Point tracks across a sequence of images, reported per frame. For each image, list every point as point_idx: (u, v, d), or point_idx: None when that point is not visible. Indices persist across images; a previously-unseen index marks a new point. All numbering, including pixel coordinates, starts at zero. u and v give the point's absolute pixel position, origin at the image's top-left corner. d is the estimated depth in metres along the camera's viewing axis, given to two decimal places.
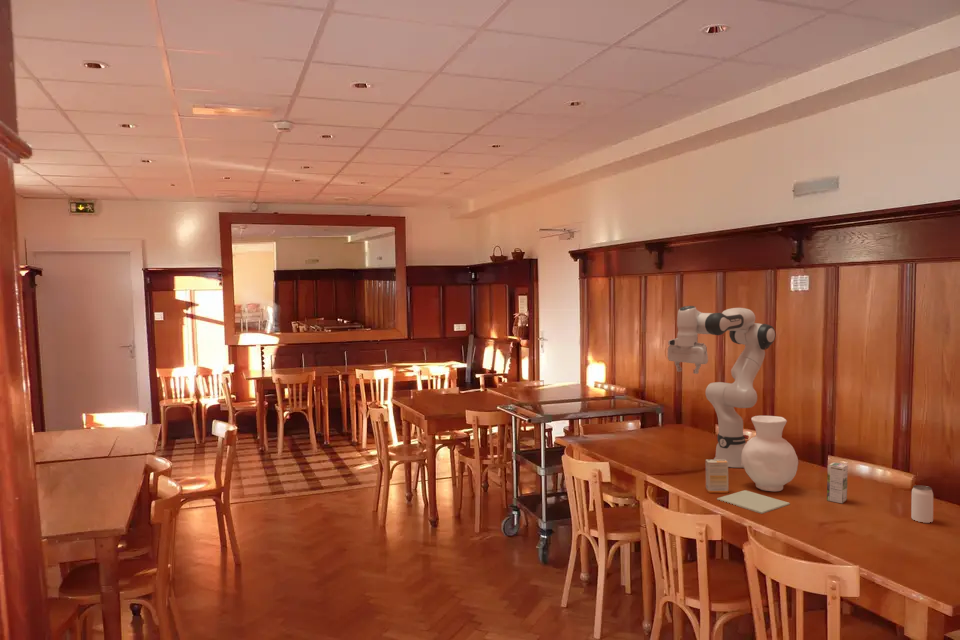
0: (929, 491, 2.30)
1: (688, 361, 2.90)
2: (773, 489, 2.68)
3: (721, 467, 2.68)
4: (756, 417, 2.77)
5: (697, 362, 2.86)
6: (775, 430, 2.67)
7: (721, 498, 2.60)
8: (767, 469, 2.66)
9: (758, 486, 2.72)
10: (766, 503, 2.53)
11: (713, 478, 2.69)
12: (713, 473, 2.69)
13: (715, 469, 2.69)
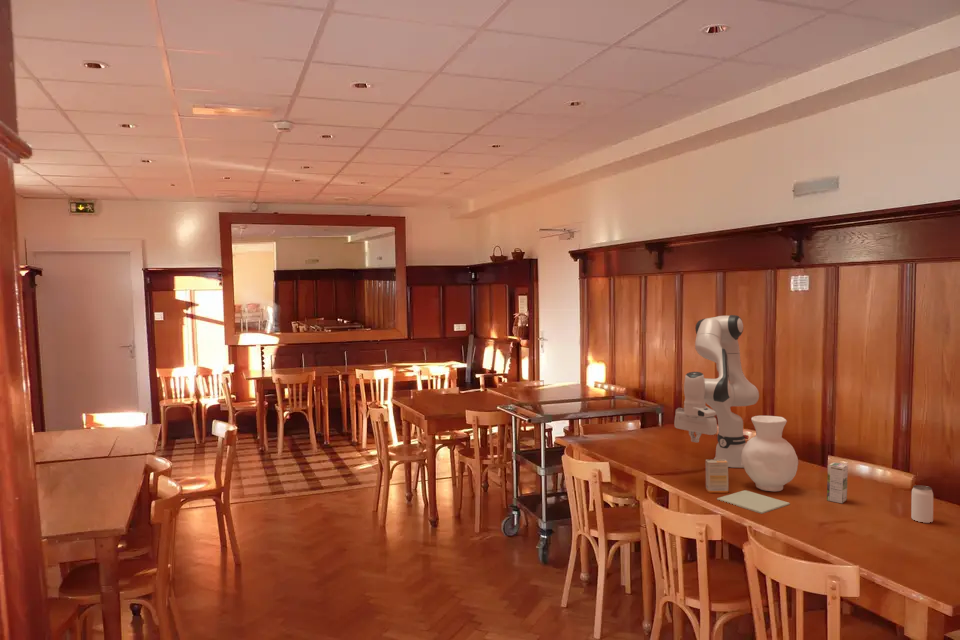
0: (929, 491, 2.30)
1: None
2: (773, 489, 2.68)
3: (721, 467, 2.68)
4: (756, 417, 2.77)
5: None
6: (775, 430, 2.67)
7: (721, 498, 2.60)
8: (767, 469, 2.66)
9: (758, 486, 2.72)
10: (766, 503, 2.53)
11: (713, 478, 2.69)
12: (713, 473, 2.69)
13: (715, 469, 2.69)
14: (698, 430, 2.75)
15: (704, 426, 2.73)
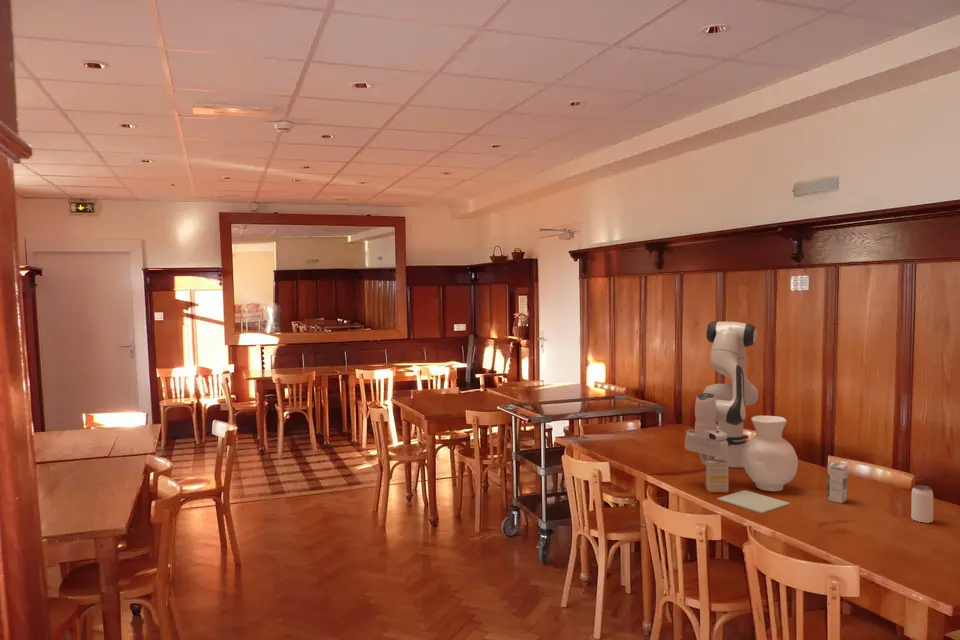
0: (929, 491, 2.30)
1: None
2: (773, 489, 2.68)
3: (721, 467, 2.68)
4: (756, 417, 2.77)
5: None
6: (775, 430, 2.67)
7: (721, 498, 2.60)
8: (767, 469, 2.66)
9: (758, 486, 2.72)
10: (766, 503, 2.53)
11: (713, 478, 2.69)
12: (713, 473, 2.68)
13: (715, 469, 2.68)
14: (709, 453, 2.71)
15: (715, 450, 2.69)
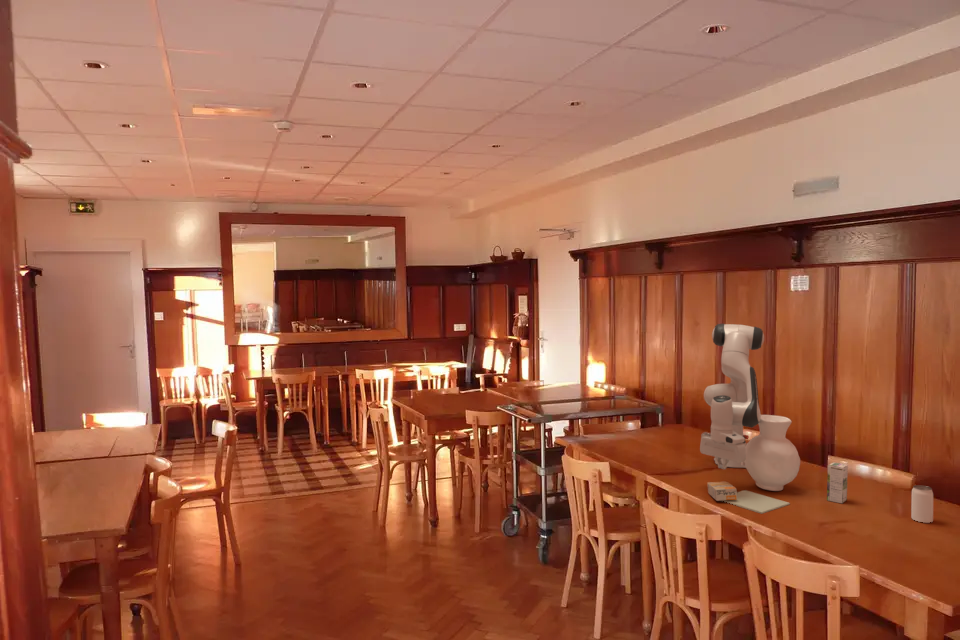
0: (929, 491, 2.30)
1: None
2: (773, 488, 2.68)
3: None
4: (761, 416, 2.77)
5: None
6: (779, 430, 2.67)
7: None
8: (769, 468, 2.65)
9: (758, 485, 2.72)
10: (766, 503, 2.53)
11: None
12: None
13: None
14: (726, 457, 2.64)
15: (732, 453, 2.62)
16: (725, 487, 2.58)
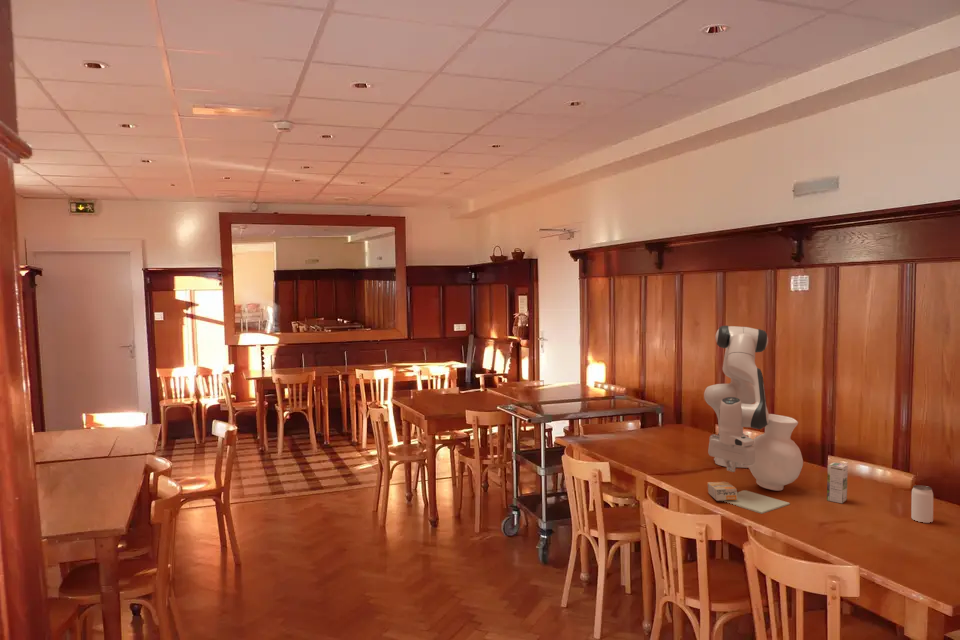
0: (929, 491, 2.30)
1: None
2: (774, 488, 2.68)
3: None
4: None
5: None
6: (785, 430, 2.65)
7: None
8: (771, 468, 2.65)
9: (759, 483, 2.72)
10: (766, 503, 2.53)
11: None
12: None
13: None
14: (735, 459, 2.61)
15: (741, 456, 2.58)
16: (725, 487, 2.58)
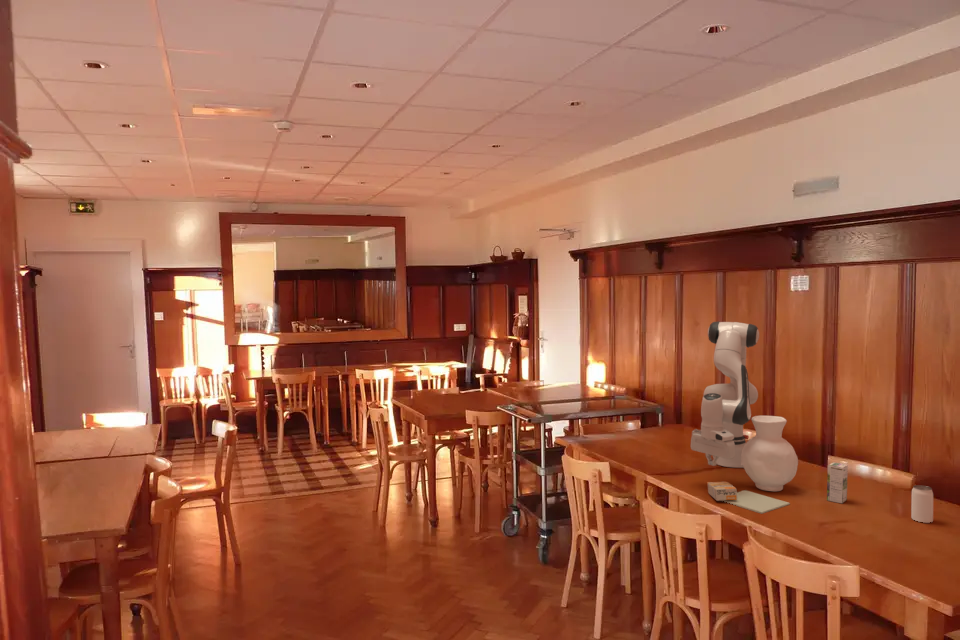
0: (929, 491, 2.30)
1: None
2: (773, 489, 2.68)
3: None
4: (756, 417, 2.77)
5: None
6: (775, 430, 2.67)
7: None
8: (767, 469, 2.66)
9: (758, 486, 2.72)
10: (766, 503, 2.53)
11: None
12: None
13: None
14: (715, 454, 2.69)
15: (721, 450, 2.66)
16: (725, 487, 2.58)
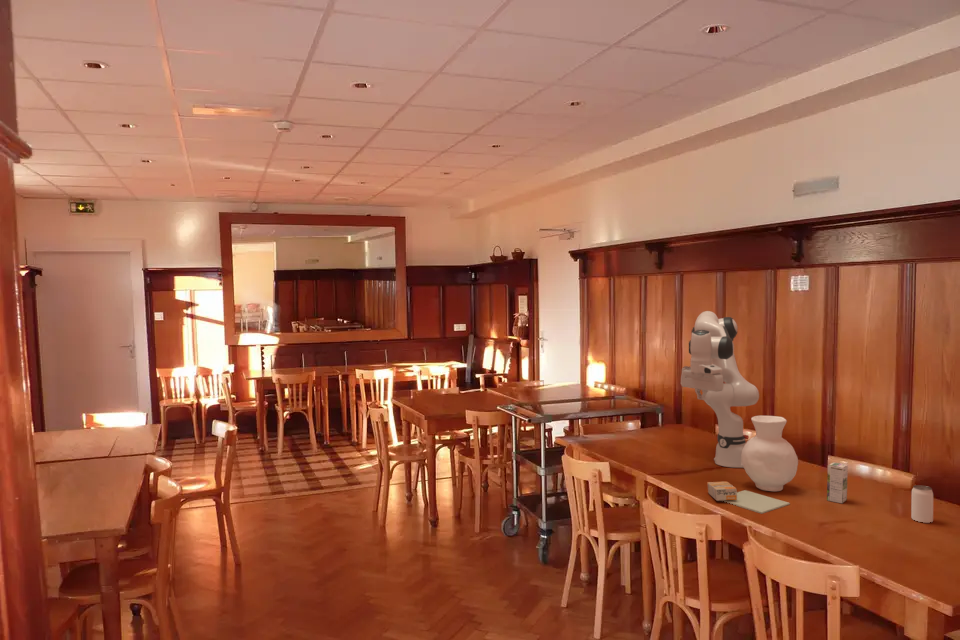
0: (929, 491, 2.30)
1: None
2: (773, 489, 2.68)
3: None
4: (756, 417, 2.77)
5: None
6: (775, 430, 2.67)
7: None
8: (767, 469, 2.66)
9: (758, 486, 2.72)
10: (766, 503, 2.53)
11: None
12: None
13: None
14: (704, 387, 2.77)
15: (710, 383, 2.74)
16: (725, 487, 2.58)
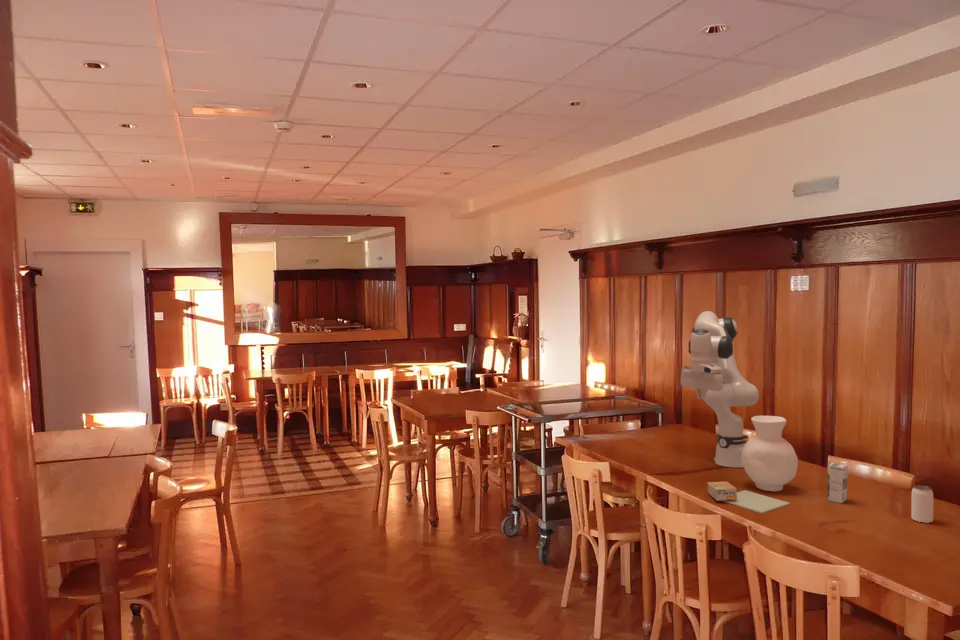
0: (929, 491, 2.30)
1: None
2: (773, 489, 2.68)
3: None
4: (756, 417, 2.77)
5: None
6: (775, 430, 2.67)
7: None
8: (767, 469, 2.66)
9: (758, 486, 2.72)
10: (766, 503, 2.53)
11: None
12: None
13: None
14: (704, 387, 2.77)
15: (710, 383, 2.74)
16: (725, 487, 2.58)
